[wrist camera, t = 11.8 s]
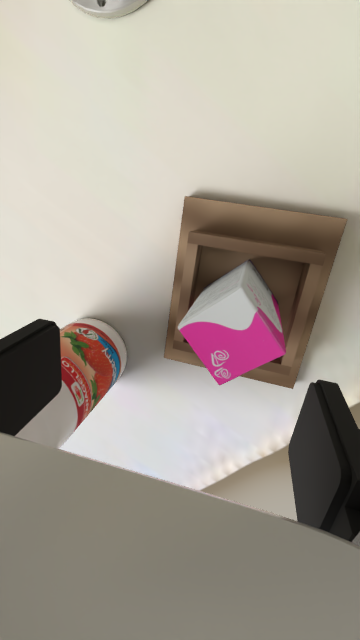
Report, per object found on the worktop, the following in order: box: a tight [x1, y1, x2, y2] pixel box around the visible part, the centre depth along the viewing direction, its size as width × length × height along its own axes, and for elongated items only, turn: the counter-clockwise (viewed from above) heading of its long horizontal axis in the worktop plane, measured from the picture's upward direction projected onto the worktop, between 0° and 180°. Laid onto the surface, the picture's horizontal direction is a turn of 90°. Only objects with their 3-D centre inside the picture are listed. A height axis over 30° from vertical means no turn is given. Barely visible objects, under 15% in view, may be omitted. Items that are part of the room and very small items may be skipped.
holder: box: [164, 196, 347, 389], centre depth 30 cm, size 18×15×4 cm
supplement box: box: [178, 259, 286, 385], centre depth 26 cm, size 6×6×11 cm
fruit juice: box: [15, 319, 127, 449], centre depth 27 cm, size 9×9×28 cm
